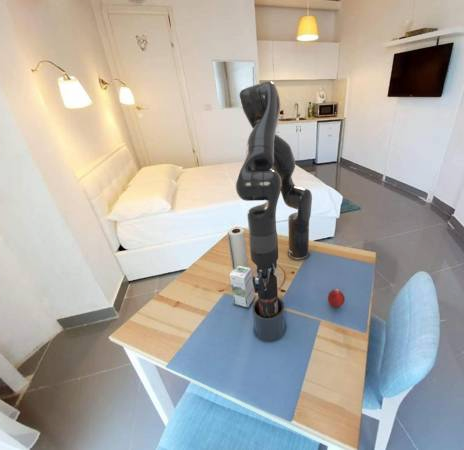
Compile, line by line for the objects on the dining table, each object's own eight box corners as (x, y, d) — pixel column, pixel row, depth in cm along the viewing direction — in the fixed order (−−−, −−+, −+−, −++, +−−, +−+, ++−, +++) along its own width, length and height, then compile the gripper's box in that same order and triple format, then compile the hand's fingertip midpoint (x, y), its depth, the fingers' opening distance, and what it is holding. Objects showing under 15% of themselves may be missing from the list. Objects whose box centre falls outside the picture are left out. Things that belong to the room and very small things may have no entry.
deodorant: (276, 324, 77) (274, 287, 69) (257, 321, 78) (253, 285, 71) (280, 309, 82) (278, 273, 74) (262, 306, 83) (259, 271, 76)
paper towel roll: (246, 267, 111) (241, 225, 100) (250, 275, 106) (245, 232, 96) (230, 272, 108) (223, 229, 98) (234, 280, 103) (227, 236, 93)
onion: (333, 314, 87) (335, 297, 83) (324, 303, 91) (325, 287, 88) (346, 308, 89) (349, 291, 85) (336, 298, 94) (338, 281, 90)
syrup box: (254, 297, 95) (251, 267, 88) (247, 308, 90) (243, 277, 83) (241, 293, 97) (237, 264, 90) (233, 305, 92) (228, 274, 85)
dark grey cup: (261, 313, 88) (259, 292, 83) (287, 319, 86) (287, 298, 81) (250, 337, 80) (247, 315, 75) (279, 344, 77) (278, 322, 72)
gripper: (259, 229, 73) (263, 273, 82) (239, 257, 61) (246, 306, 70) (284, 232, 72) (285, 277, 80) (268, 262, 59) (271, 311, 68)
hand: (267, 290), depth 75 cm, fingers closed on deodorant, 6 cm apart
